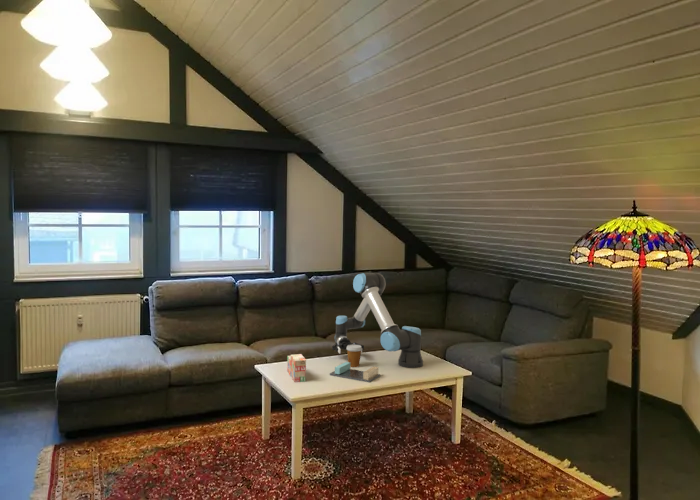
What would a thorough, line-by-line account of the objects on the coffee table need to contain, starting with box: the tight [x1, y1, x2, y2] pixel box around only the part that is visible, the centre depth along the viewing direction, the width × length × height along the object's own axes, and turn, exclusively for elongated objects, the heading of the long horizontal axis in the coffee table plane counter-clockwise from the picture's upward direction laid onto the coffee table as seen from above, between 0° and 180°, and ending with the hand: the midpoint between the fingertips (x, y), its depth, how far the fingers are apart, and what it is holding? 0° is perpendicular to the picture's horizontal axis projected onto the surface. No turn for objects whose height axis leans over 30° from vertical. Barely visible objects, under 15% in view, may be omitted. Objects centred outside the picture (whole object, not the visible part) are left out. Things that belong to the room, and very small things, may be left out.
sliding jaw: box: [334, 361, 351, 374], centre depth 321 cm, size 3×13×4 cm, turn 152°
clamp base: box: [329, 366, 381, 383], centre depth 317 cm, size 25×14×5 cm, turn 62°
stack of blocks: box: [286, 353, 307, 383], centre depth 313 cm, size 21×6×12 cm, turn 17°
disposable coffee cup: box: [346, 345, 363, 368], centre depth 336 cm, size 10×10×12 cm
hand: (350, 350), depth 345 cm, fingers open, 13 cm apart
